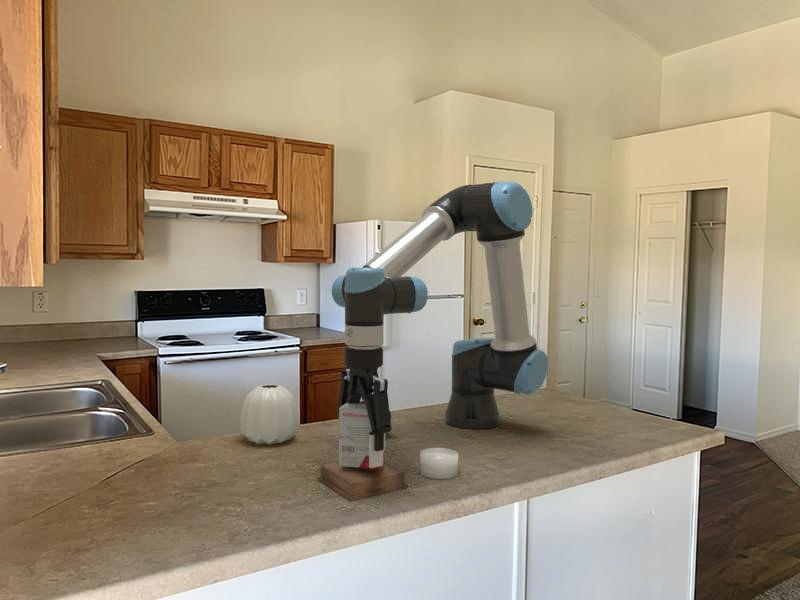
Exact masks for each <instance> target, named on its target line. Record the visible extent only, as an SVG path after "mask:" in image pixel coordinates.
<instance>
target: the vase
mask: <svg viewBox="0 0 800 600" xmlns="http://www.w3.org/2000/svg"><path fill="white" fill-rule="evenodd" d="M240 412H241V413H240V420H239V428H240V432H241V433H242V435H243V436H244V437H245V438H246V439H247V440H248V441H249V442H250V443H255V444H257V445H273V444H282V443H283V442H287V441H289V440H291V439H292V437H294V436H295V435H296V433H297V432H298V430H299V426H300V416H299V410H298V406H297V402H296V399H295V396H294V395H293V393H292V392H291V391H290V390H289V389H287V388H286V387H284V386H282V385H280V384H276V383H275V384H274V383H266V384H261V385H258V386H257V387H255V388H253V389H252V390H251V391H250V392H249V393H248V394H247V395H246V396H245V399H244V401H243V403H242V407H241V411H240Z"/></svg>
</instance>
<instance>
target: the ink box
mask: <svg viewBox="0 0 800 600" xmlns="http://www.w3.org/2000/svg"><path fill="white" fill-rule="evenodd" d="M376 427H377V426H376ZM369 432H372V429H371V425H370V421H369V417H368V412H367V408H366V404H356V403H351V404H349V403H345V404H344V405H343V406H341V407H340V408H339V416H338V462H339V466H345V467H358V468H370V467H369ZM385 462H386V433H384V449H383V465H384V464H385ZM382 467H383V466H379V467H374V468H371V469H381V468H382Z"/></svg>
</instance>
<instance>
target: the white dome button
mask: <svg viewBox="0 0 800 600" xmlns="http://www.w3.org/2000/svg"><path fill="white" fill-rule="evenodd" d="M419 474H421V476H423V477H424V478H425V477H426V478H427V479H428V478H430V479H436V480H446V479H452V478H455V477H457V476H458V474H459V452H458V451H456V450H454V449H451V448H446V447H445V448H444V447H431V448H430V447H429V448H425V449H422V450H421V451H420V452H419Z"/></svg>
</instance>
